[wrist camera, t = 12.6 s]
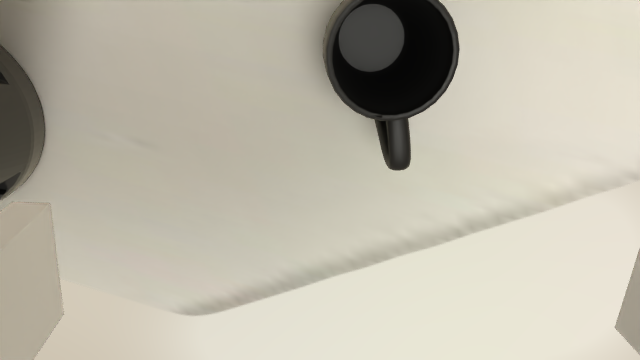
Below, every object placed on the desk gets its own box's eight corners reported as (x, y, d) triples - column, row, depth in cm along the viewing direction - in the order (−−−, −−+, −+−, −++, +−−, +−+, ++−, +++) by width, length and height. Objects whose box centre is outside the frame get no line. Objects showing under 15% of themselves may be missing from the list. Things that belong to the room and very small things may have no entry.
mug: (327, 141, 44) (336, 183, 35) (312, -13, 40) (319, -9, 31) (426, 130, 44) (460, 170, 35) (422, -25, 40) (460, -24, 31)
